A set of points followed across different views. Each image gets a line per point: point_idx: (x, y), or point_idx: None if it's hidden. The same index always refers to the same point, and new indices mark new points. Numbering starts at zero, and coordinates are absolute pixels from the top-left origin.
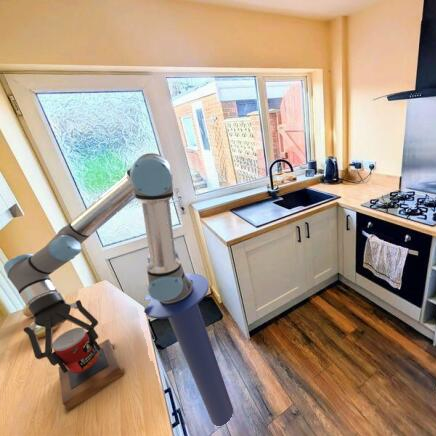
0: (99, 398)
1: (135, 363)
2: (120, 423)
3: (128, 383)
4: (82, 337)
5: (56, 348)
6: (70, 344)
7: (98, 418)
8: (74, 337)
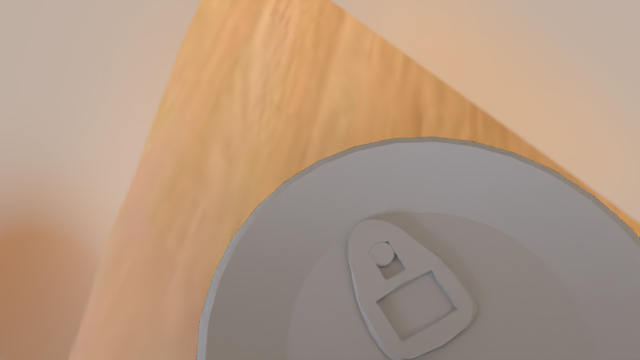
0: None
1: (168, 300)
2: (340, 38)
3: (252, 192)
4: (269, 206)
5: (609, 220)
6: (418, 154)
7: (413, 117)
8: (360, 294)
